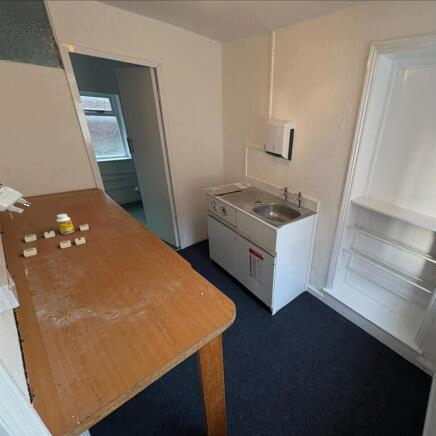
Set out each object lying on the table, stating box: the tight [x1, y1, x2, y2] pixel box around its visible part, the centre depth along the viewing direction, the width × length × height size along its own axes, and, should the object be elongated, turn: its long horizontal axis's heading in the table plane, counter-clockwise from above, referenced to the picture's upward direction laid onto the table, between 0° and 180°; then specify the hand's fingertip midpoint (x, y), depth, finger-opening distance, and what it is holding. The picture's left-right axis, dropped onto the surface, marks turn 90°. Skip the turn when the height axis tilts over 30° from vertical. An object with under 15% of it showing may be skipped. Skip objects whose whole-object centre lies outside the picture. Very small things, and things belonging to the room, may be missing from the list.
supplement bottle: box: [55, 213, 75, 235], centre depth 125 cm, size 6×6×10 cm
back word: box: [24, 223, 90, 243], centre depth 124 cm, size 25×5×2 cm, turn 132°
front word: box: [23, 236, 87, 258], centre depth 112 cm, size 21×4×2 cm, turn 132°
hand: (26, 208), depth 115 cm, fingers open, 8 cm apart
